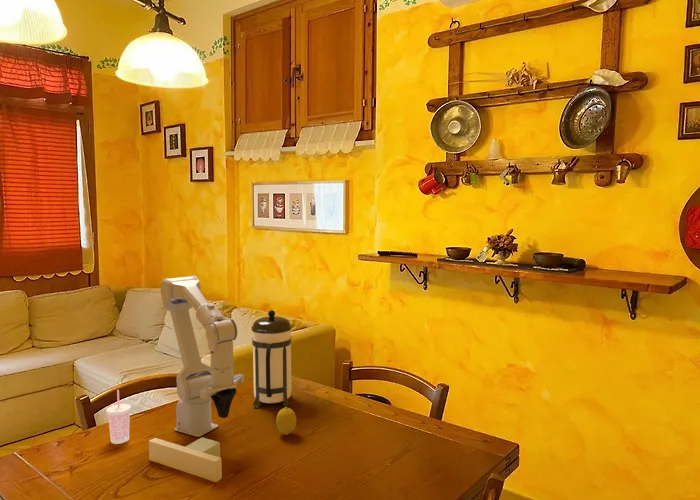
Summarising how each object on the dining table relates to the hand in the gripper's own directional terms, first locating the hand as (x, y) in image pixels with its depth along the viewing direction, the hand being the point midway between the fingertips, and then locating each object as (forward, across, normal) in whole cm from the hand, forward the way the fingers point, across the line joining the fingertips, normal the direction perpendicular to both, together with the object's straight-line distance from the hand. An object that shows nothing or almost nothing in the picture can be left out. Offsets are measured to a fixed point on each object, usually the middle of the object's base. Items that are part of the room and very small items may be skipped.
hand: (223, 416), depth 139 cm
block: (+9, -8, 0) cm, 12 cm away
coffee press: (+9, +31, +7) cm, 33 cm away
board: (+8, -13, +1) cm, 16 cm away
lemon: (+9, +14, -10) cm, 19 cm away
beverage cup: (+9, -10, +28) cm, 31 cm away
